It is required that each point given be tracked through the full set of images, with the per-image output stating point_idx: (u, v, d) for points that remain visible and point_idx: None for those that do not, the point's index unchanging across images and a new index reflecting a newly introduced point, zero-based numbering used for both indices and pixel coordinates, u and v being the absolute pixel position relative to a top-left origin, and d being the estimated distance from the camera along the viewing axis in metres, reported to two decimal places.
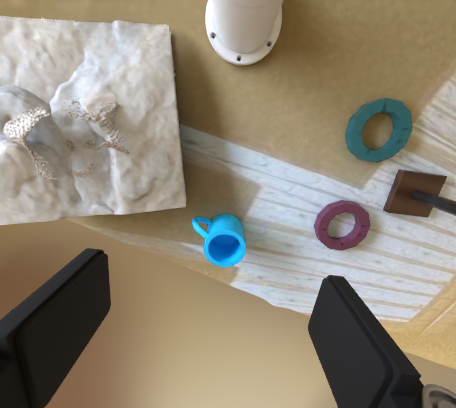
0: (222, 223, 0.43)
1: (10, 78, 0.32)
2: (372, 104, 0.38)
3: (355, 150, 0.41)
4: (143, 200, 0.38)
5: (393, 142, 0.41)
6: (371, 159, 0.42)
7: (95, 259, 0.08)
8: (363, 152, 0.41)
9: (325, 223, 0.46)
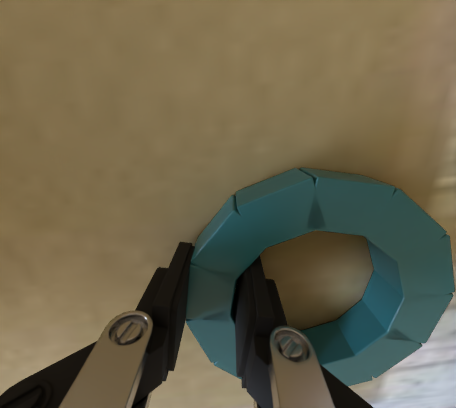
0: None
1: None
2: (202, 255, 0.08)
3: None
4: None
5: (394, 304, 0.09)
6: (345, 382, 0.11)
7: (191, 251, 0.09)
8: None
9: None
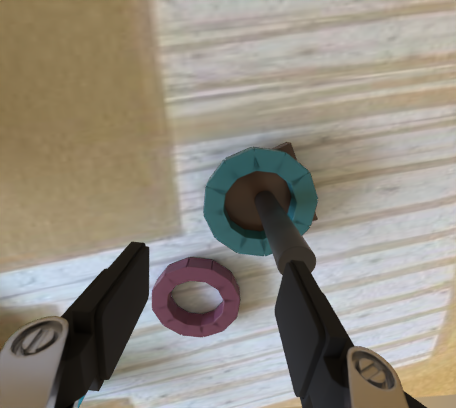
0: None
1: None
2: (211, 182, 0.20)
3: (241, 252, 0.23)
4: None
5: (294, 206, 0.21)
6: None
7: (141, 251, 0.09)
8: (256, 247, 0.23)
9: (165, 312, 0.27)
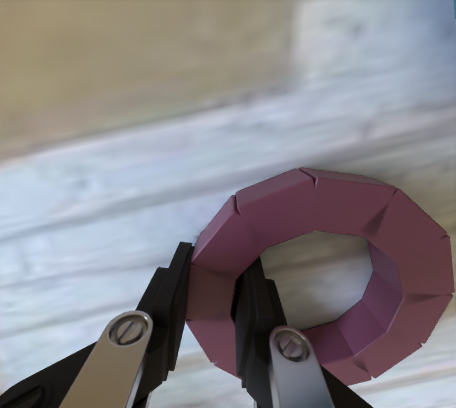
0: None
1: None
2: None
3: None
4: None
5: None
6: None
7: (191, 251, 0.09)
8: None
9: (223, 331, 0.10)
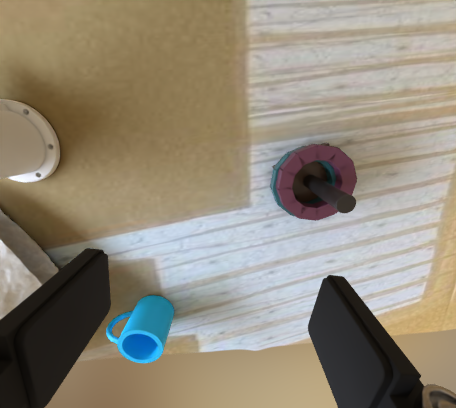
0: (130, 319, 0.40)
1: None
2: (279, 167, 0.32)
3: None
4: None
5: (331, 184, 0.33)
6: None
7: (95, 259, 0.08)
8: None
9: (289, 193, 0.32)
